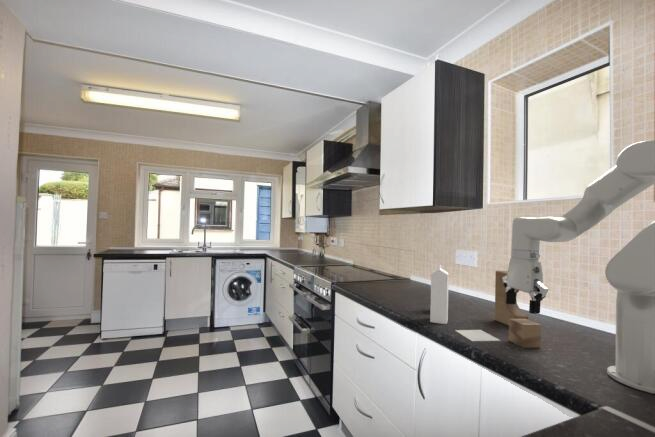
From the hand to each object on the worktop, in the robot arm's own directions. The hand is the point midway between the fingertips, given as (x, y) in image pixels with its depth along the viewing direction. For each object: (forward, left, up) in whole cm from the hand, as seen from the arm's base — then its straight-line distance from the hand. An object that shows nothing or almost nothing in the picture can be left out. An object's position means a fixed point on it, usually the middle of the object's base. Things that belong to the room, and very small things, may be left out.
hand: (522, 308), depth 96 cm
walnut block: (-1, 0, -11) cm, 11 cm away
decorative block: (+18, -11, -12) cm, 24 cm away
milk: (+23, +16, -12) cm, 30 cm away
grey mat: (+7, +11, -11) cm, 17 cm away
